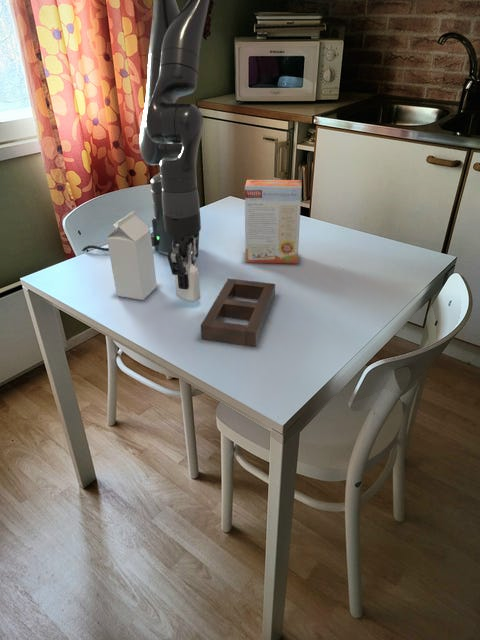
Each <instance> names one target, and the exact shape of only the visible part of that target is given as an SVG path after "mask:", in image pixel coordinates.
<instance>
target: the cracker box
mask: <svg viewBox="0 0 480 640" xmlns="http://www.w3.org/2000/svg"><path fill="white" fill-rule="evenodd" d="M302 186H303V185H302V179H301V180H300V179H247V180H246V182H245V186H244V246H245V247H244V250H245V251H244V252H245V253H244V254H245V255H244V256H245V257H244V258H245V263H257V264H258V263H259V264H294V265H295V264H298V262H299V245H300V243H299V241H300V226H301V225H300V224H301V207H302V205H301V203H302Z"/></svg>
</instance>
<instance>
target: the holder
mask: <svg viewBox="0 0 480 640" xmlns="http://www.w3.org/2000/svg"><path fill="white" fill-rule="evenodd" d="M235 298H241V299H242V298H243V299H250V300H258V301H257V302H256V301H247V300H238V299H235ZM275 298H276V283H272V282H271V283H270V282H265V281H264V282H263V281H256V280H255V281H253V280H245V279H237V278H227V280H226V281H225V283H224V284H223V286H222V288H221V290H220V291H219V292H218V295H217V297H216V298H215V300H214V302H213V303H212V305H211V307H210V309H209V310H208V311H207V314H206V315H205V317H204V319H203V320H202V322H201V324H200V333H201V334H200V335H201V340H204V341H210V342H218V343H225V344H231V345H238V346H246V347H253V348H256V347H257V344H258V342H259V339H260V337H261V333H262V331H263V330H264V327H265V324H266V321H267V319H268V316H269V313H270V311H271V308H272V305H273V302H274V300H275ZM225 318H227V319H237V320H243V321H248V323H247V325H246V324H240V323H232V322H225V321H223V320H224V319H225Z"/></svg>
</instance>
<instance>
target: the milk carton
mask: <svg viewBox="0 0 480 640" xmlns="http://www.w3.org/2000/svg"><path fill="white" fill-rule="evenodd" d="M113 227H114V228H115V229H114V230H113V231H112V232H111V233H110V234H109V235H108V236H106V242H107V248H109V251H108V253H109V258H110V265H111V270H112V276H113V282H114V287H115V293H116V296H117V297H123V298H127V299H132V300H140V301H144V300H145V299H146V298H147V297H148V296H149V295H150V294H152V292H153V291H154V290H155V289H157V287H158V283H157V275H156V268H155V267H156V266H155V260H154V259H155V258H154V252H153V251H154V250H153V246H152V241H151V233H152V232H151V228H149V227H148V226H147V224H145V223H144V221H142V220H141V219H140V218H139V217H138V216H137V215H136V211H135V210H132V211H131V212H130V213H128V214H127V215H125V216H124V217H122V218H121V219H119V220H118V221H116V222H115V223H114V224H113Z"/></svg>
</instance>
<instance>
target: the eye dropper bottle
mask: <svg viewBox="0 0 480 640" xmlns="http://www.w3.org/2000/svg"><path fill="white" fill-rule="evenodd" d="M182 259H185V260H186V258H182ZM183 266H184V264H183ZM174 280H175V290H176V297H177V298H179V299H180V300H182V301H184V302H189V303H195V302H197V301H198V300H200V299H201V287H200V286H201V285H200V273H199V269H198V267H197V266H196V265H195V266H194V265H193V264H192V263H191V254H190V263H189V264H188V280H189V288H188V289H180V288H179V287H178V276H177V275H174Z"/></svg>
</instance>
